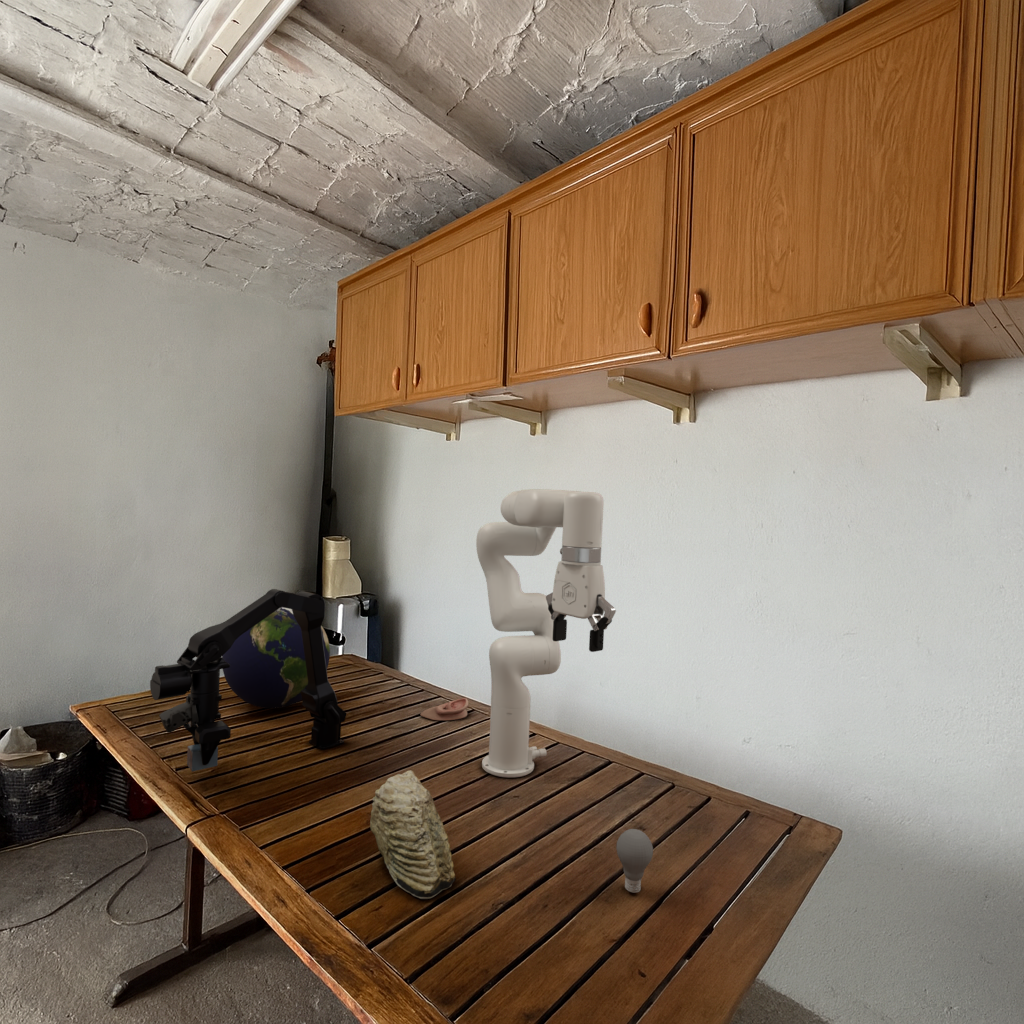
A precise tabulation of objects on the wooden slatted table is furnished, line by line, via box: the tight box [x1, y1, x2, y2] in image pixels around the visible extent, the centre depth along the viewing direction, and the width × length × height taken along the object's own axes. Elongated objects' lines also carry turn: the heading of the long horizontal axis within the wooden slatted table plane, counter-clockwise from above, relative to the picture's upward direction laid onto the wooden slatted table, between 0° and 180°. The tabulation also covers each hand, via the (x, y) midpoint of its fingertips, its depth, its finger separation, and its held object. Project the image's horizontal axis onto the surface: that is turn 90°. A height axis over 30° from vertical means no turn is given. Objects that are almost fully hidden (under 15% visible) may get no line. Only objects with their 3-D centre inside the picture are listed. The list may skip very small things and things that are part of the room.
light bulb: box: [615, 828, 654, 894], centre depth 106 cm, size 6×6×10 cm
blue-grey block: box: [186, 744, 219, 772], centre depth 139 cm, size 4×5×4 cm
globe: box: [222, 607, 331, 709], centre depth 188 cm, size 30×30×30 cm
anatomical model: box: [419, 697, 469, 721], centre depth 187 cm, size 13×4×12 cm
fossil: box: [369, 769, 456, 900], centre depth 109 cm, size 9×18×15 cm, turn 46°
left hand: (202, 760), depth 139 cm, fingers closed on blue-grey block, 4 cm apart
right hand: (577, 645), depth 121 cm, fingers open, 9 cm apart
